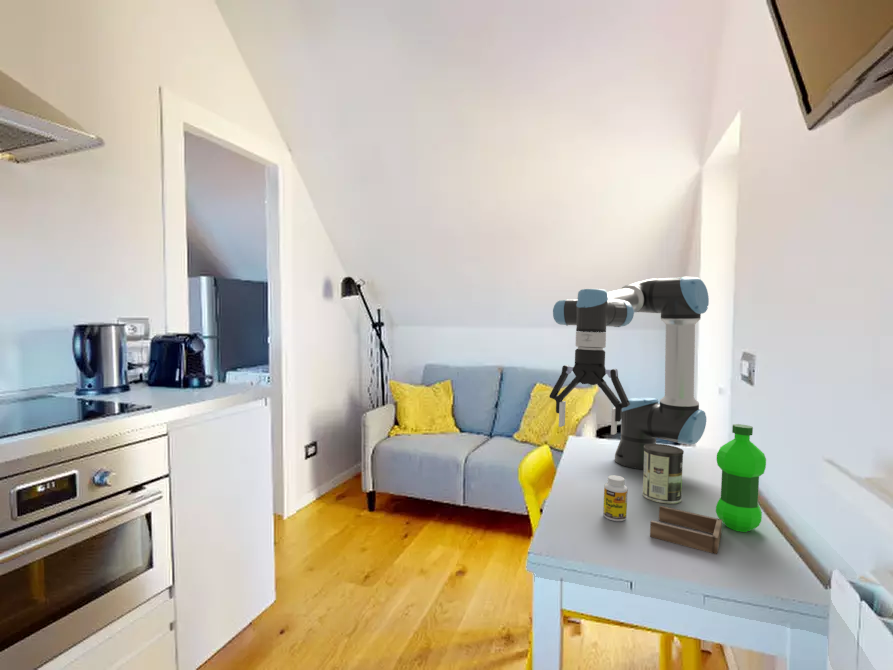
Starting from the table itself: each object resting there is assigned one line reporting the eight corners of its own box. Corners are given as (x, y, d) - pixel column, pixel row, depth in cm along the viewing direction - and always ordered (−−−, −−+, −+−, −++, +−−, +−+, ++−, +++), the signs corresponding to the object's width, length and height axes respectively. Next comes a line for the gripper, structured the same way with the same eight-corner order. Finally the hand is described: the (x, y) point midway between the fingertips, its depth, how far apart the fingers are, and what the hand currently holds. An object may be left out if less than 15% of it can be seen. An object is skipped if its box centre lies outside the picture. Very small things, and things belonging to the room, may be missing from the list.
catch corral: (659, 519, 119) (660, 505, 119) (721, 534, 111) (722, 519, 111) (649, 536, 109) (650, 521, 109) (717, 554, 101) (717, 538, 101)
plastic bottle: (744, 518, 120) (749, 421, 120) (773, 537, 110) (778, 431, 109) (705, 517, 120) (709, 420, 120) (730, 536, 110) (735, 430, 109)
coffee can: (675, 492, 138) (677, 444, 138) (686, 505, 128) (688, 454, 128) (638, 489, 140) (640, 442, 140) (646, 502, 130) (648, 451, 130)
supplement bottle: (601, 519, 118) (602, 478, 118) (605, 511, 123) (606, 472, 123) (624, 524, 115) (626, 483, 115) (627, 516, 120) (629, 476, 120)
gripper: (539, 346, 126) (536, 425, 127) (637, 352, 112) (634, 440, 113) (549, 345, 132) (546, 420, 133) (644, 351, 119) (640, 434, 119)
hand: (586, 429), depth 123 cm, fingers open, 13 cm apart
